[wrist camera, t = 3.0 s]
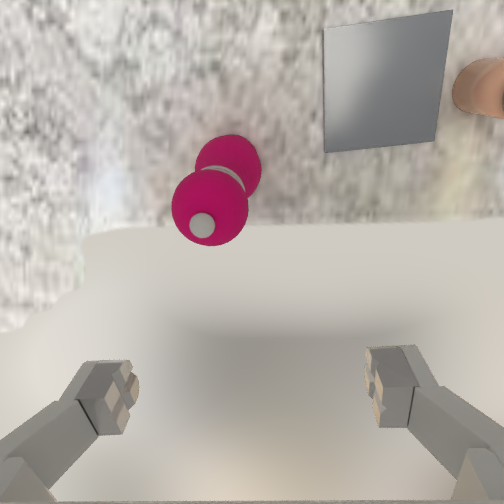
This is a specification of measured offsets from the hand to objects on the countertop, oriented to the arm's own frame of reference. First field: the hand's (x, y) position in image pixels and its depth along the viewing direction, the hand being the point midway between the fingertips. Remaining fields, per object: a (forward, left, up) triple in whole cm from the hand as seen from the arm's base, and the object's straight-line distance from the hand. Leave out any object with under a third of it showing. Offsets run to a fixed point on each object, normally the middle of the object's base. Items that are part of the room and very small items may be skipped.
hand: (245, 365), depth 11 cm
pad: (-13, -6, -32) cm, 35 cm away
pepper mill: (+4, 0, -32) cm, 32 cm away
